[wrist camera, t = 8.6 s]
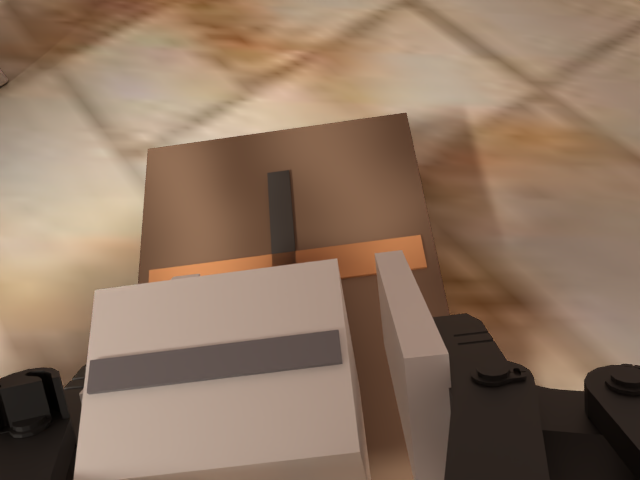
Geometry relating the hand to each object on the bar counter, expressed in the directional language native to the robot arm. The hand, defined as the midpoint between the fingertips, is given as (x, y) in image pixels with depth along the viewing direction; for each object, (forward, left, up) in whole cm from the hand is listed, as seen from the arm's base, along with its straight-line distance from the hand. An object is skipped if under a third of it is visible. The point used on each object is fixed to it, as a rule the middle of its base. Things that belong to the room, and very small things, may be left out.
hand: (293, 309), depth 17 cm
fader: (0, -4, -2) cm, 4 cm away
